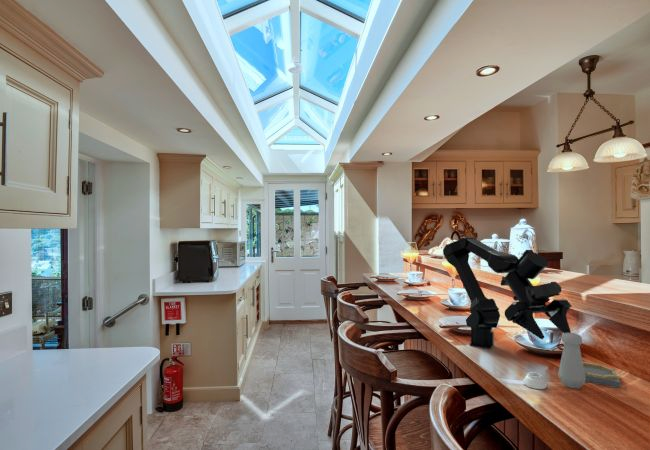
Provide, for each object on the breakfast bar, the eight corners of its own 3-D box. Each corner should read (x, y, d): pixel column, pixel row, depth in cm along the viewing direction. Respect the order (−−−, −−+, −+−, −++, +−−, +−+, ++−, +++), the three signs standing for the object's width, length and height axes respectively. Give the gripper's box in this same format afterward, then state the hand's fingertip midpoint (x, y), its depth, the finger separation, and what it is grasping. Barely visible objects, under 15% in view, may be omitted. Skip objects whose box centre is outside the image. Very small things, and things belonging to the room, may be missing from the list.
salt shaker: (590, 391, 87) (590, 338, 87) (564, 389, 88) (564, 336, 88) (578, 381, 93) (578, 331, 93) (554, 379, 94) (554, 329, 94)
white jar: (537, 381, 93) (519, 382, 93) (537, 370, 93) (519, 370, 93) (550, 390, 88) (531, 390, 88) (550, 378, 88) (531, 378, 88)
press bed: (571, 378, 95) (571, 370, 95) (570, 366, 103) (570, 359, 103) (620, 388, 89) (620, 379, 89) (615, 375, 98) (615, 367, 98)
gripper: (512, 272, 98) (547, 323, 87) (565, 271, 103) (604, 318, 92) (491, 296, 105) (521, 345, 94) (541, 294, 110) (575, 340, 99)
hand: (556, 337), depth 95 cm, fingers open, 9 cm apart
